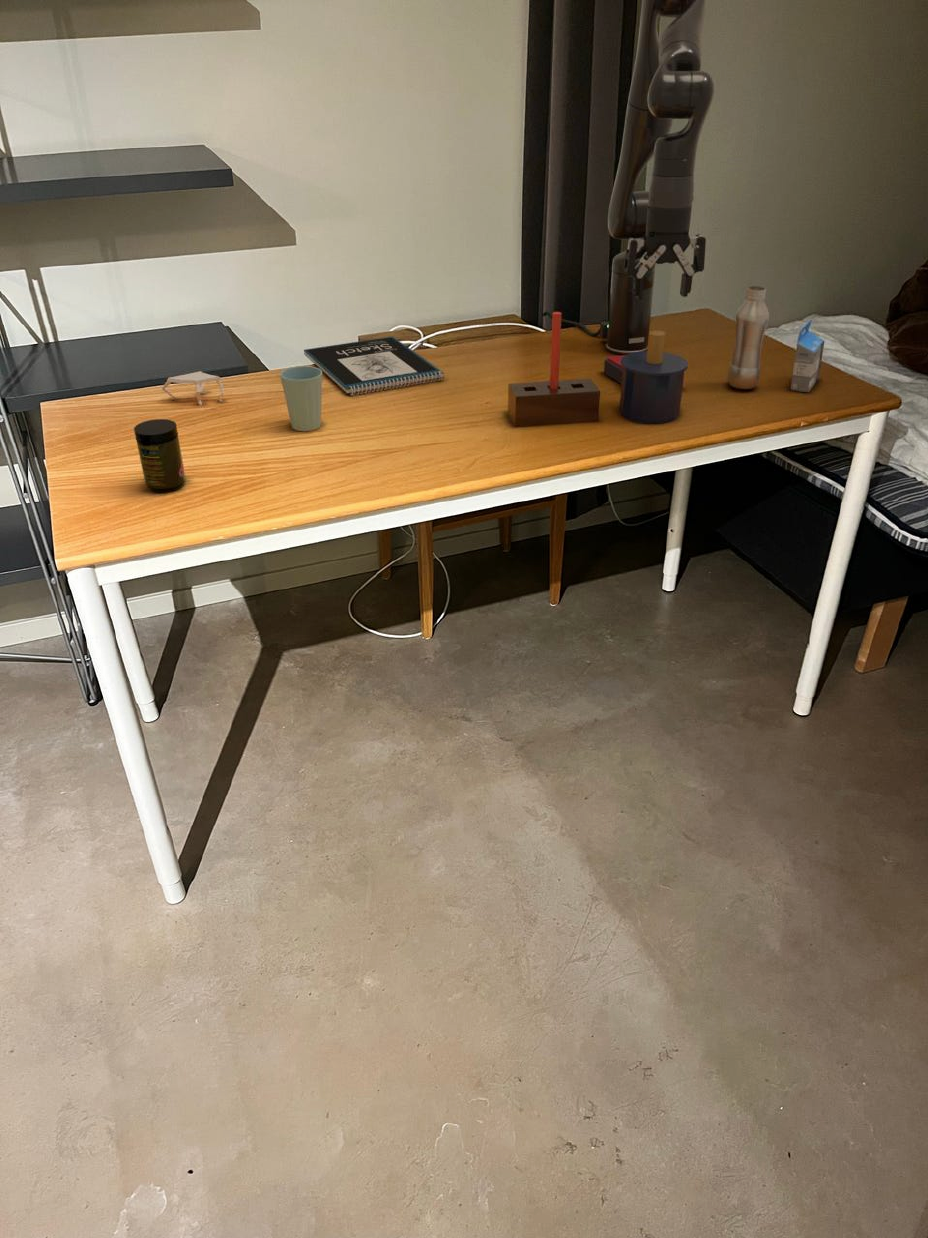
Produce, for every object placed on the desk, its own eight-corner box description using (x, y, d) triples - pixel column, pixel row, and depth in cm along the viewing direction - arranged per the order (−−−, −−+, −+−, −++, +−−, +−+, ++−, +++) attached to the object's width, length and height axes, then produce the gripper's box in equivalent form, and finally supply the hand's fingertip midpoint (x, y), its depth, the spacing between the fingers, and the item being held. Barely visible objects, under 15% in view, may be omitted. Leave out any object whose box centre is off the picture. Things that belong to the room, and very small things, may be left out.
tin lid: (612, 359, 192) (614, 324, 188) (674, 355, 194) (678, 320, 190) (631, 381, 182) (634, 345, 178) (697, 377, 183) (701, 341, 180)
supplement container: (184, 492, 165) (174, 433, 159) (143, 495, 164) (130, 436, 158) (188, 475, 170) (178, 417, 164) (148, 477, 169) (136, 420, 164)
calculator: (650, 350, 213) (685, 368, 200) (649, 369, 215) (683, 389, 202) (604, 355, 210) (636, 374, 197) (603, 375, 212) (634, 395, 200)
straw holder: (507, 413, 193) (508, 383, 190) (588, 407, 195) (590, 378, 192) (515, 426, 187) (515, 396, 184) (598, 421, 189) (600, 390, 186)
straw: (547, 415, 191) (551, 311, 181) (555, 415, 192) (560, 311, 181) (549, 419, 190) (553, 314, 179) (557, 418, 190) (562, 313, 179)
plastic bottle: (755, 381, 206) (770, 283, 195) (760, 393, 201) (776, 293, 190) (723, 381, 207) (737, 283, 196) (727, 392, 201) (742, 292, 190)
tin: (612, 403, 196) (616, 356, 191) (667, 400, 198) (672, 353, 193) (629, 425, 187) (633, 376, 182) (687, 421, 188) (693, 372, 183)
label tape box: (808, 393, 200) (819, 332, 194) (788, 389, 202) (798, 329, 195) (818, 380, 207) (830, 321, 200) (799, 376, 209) (809, 318, 202)
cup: (323, 416, 192) (318, 363, 187) (330, 430, 186) (325, 377, 180) (284, 420, 191) (277, 368, 185) (289, 435, 184) (283, 381, 179)
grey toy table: (222, 389, 205) (219, 366, 202) (226, 403, 198) (223, 379, 196) (163, 395, 202) (158, 372, 200) (165, 410, 196) (160, 386, 193)
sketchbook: (392, 341, 231) (392, 332, 230) (445, 381, 208) (445, 372, 207) (304, 354, 223) (303, 345, 222) (349, 397, 201) (348, 387, 199)
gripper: (701, 196, 176) (691, 289, 184) (624, 199, 174) (617, 293, 183) (717, 204, 169) (705, 300, 178) (637, 207, 168) (629, 304, 176)
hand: (660, 296), depth 180 cm, fingers open, 8 cm apart
